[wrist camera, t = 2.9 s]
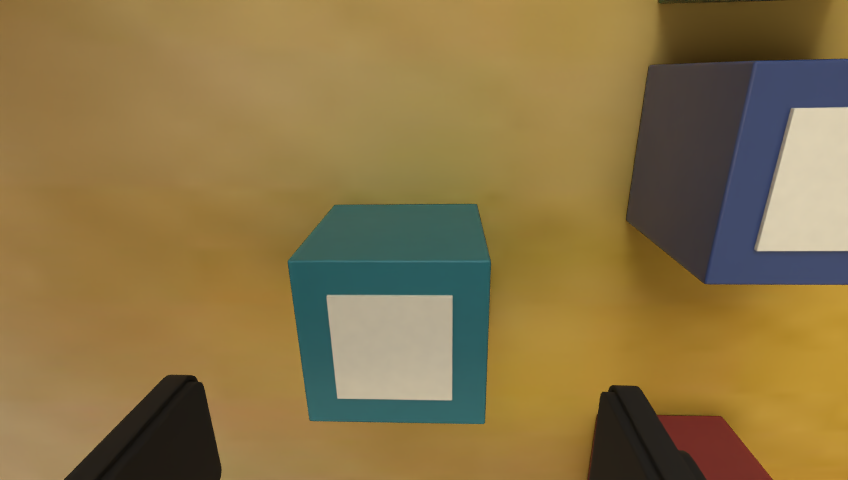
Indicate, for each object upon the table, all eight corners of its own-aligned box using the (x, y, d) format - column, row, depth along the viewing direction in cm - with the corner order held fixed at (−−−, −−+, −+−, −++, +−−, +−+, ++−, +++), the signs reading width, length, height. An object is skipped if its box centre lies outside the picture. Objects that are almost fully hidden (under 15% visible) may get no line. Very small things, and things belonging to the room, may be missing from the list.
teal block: (345, 327, 19) (307, 425, 14) (334, 204, 17) (284, 262, 12) (474, 328, 18) (485, 427, 13) (477, 203, 17) (491, 262, 11)
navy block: (648, 64, 15) (758, 60, 9) (818, 61, 14) (1027, 54, 9) (624, 220, 17) (707, 287, 11) (775, 220, 16) (928, 287, 11)
